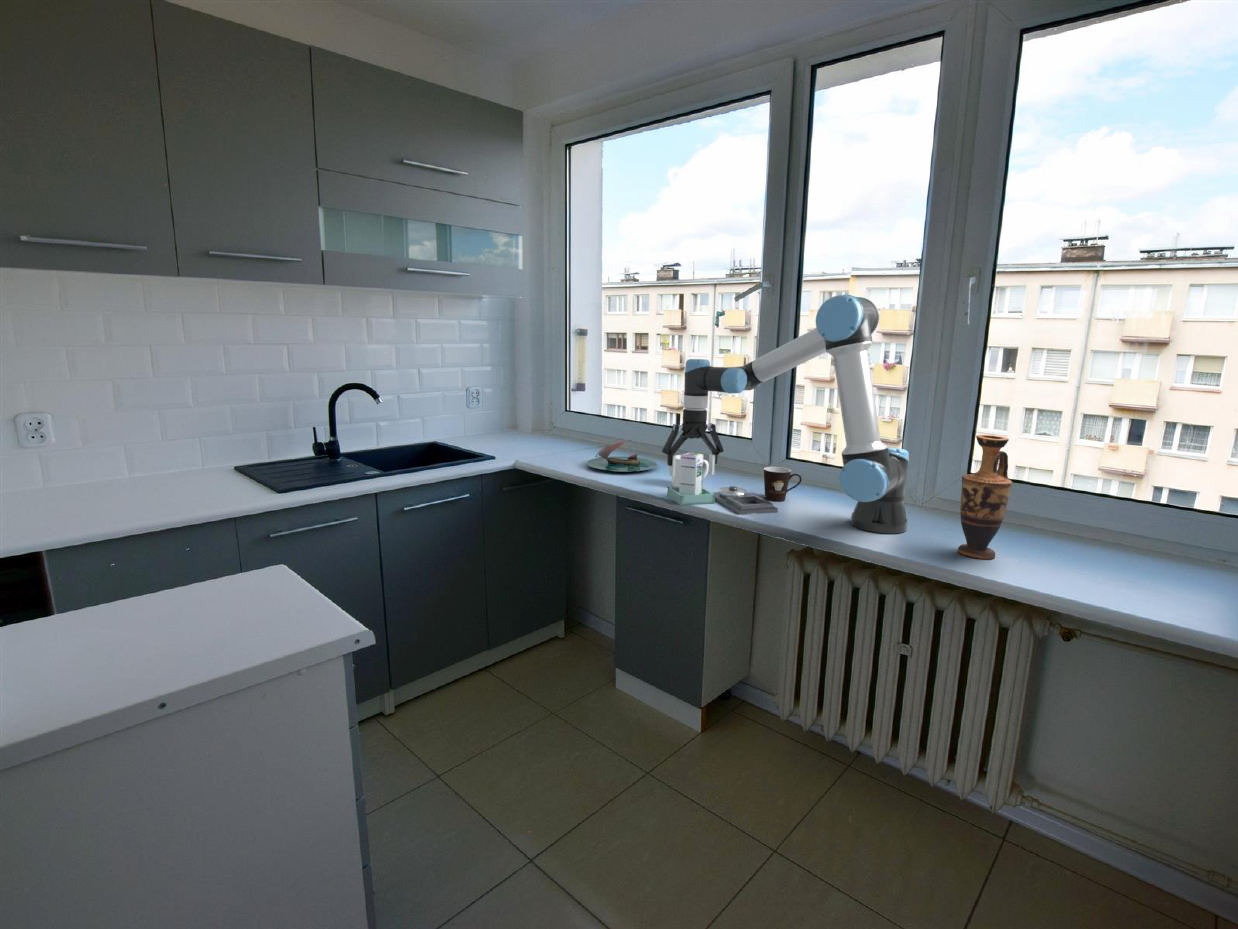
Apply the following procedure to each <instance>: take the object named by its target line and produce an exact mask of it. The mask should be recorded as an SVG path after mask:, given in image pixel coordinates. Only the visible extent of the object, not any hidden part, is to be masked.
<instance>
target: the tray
mask: <svg viewBox="0 0 1238 929" xmlns="http://www.w3.org/2000/svg"><path fill="white" fill-rule="evenodd" d="M666 493H667V494H666V496H667V497H668V498H670V500H673V502H675V503H677V504H678V505H680V506H693V505H694V506H695V505H696V506H697V505H712V504H716V503H715V502H716V501H715V494H714V493H713V492H712V491H710V490H709V489H707V488H704V487H703V486H702V494H698V495H681V494H680V493H679V487H673V486H672V487H671V486H667V492H666Z"/></svg>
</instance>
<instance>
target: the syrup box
mask: <svg viewBox="0 0 1238 929" xmlns="http://www.w3.org/2000/svg"><path fill="white" fill-rule="evenodd" d="M679 455H680V486H679V493H680V494H681V495H698V494H702V487H703V480H704V479H703V476H704V473H703V472H704V462H703V460H704V453H699V452H686V453H683V454H679ZM702 479H703V480H702Z"/></svg>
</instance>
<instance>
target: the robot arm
mask: <svg viewBox="0 0 1238 929" xmlns="http://www.w3.org/2000/svg"><path fill="white" fill-rule="evenodd" d="M879 320H880V315H879V311H878V308H877V306H876V305H875V303H874V302H872V301H871V300H870V299H868V298H865V297H860V296H854V295H851V294H838V295H834V296H832V297H830V298H828V299H827V300H825V301H824V302H823V303H822V304H821V305H820V307H819V308H818V311H817V312H816V316H815V328H813V329H811V330H810V331H808V332H806V333H804V334H802V335H800V336H798V337H796V338H794V339H791V340H790V341H788V342H786V343H785V344H783V345H780V346H779V347H777V348H775V349H773V350H771V351H769V352H767V353H765V354H763V355H761V356H759V357H758V358H756V359H754V360H752V361H750V362H748V363H746V364H744V365H742V366H741V365H740V366H730V367H729V366H725V367H723V366H711V361H710V360H709V359H704V358H688V359H687V360H686V362H685V369H684V373H683V374H684V387H683V388H684V390H683V391H684V392H683V408H684V409H683V410H682V424H677V423H673V424H672V428H671V429H672V430H671V432H670V434H669V436H668V438H667V439H666V441H665V444H664V445H663V448H662V450H661V452H662V454H665V455H667V460H666V461H667V466H669V476H671V478H672V477H675V460H676V455H675V454H676V453H677V451H679V449H680V448H681V446H682V445H683V444H684V443H685V441H687V440H688V439H692V440H693V439H701V440H702V441H703V443H704V444H705V445H706V446H707V448H708V449H709V451H710V452H711V453H709V455H708V456H709V457H708V464H709V469H708V473H707V474H710V475H711V476H714V475H715V467H716V466H715V465H717V464H718V456H719V455H720V453H723V452H724V448H723V445H722V442H721V440H720V438H719V436H718V432H717V430H716V424H714V423H712V422H710V423H708V424H707V420H708V410H707V409H708V404H709V403H708V400H709V392H717V393H725V394H741V393H742V392H743V391H751V390H756V389H757V388H759V387H760V386H761V384H763V383H765V382H767V381H770V380H771V379H773V378H776V377H777V376H779V375H781V374H784V373H785V372H787V371H791V370H792V369H794V368H796V367H798V366H800V365H802V364H804V363H806V362H809V361H810V360H812V359H815V358H817V357H820V356H821V355H823V354H824V353H827V354H829V355H830V356H831V357H832V358H833V366H834V372H835V379H836V386H837V393H838V398H839V404H840V411H841V417H842V418H841V419H842V425H843V431H844V438H845V443H846V444H845V445H846V446H845V448H844V449H843V450H842V451H841V459H842V464H843V467H842V468H841V470H840V473H839V485H840V487H841V489H842V491H843V493H844V494H846V496H848V497H849V498H851V499H852V500H854V501H857V502H856V504H855V507H854V509H853V511H852V513H851V514H850V524H851V525H852V526H853V527H855V528H857V529H860V530H862V531H863V530H864V531H868V532H873V533H877V534H878V533H879V534H887V535H888V534H902V533H905V532H907V530H908V519H907V513H906V509H905V508H906V507H905V504H904V501H905V492H906V491H905V490H906V484H907V476H908V467H909V463H910V458H909V457H910V454H909V451H908V450H907V449H905V448H904V449H903V448H897V447H890V446H888V445H887V444H885V443H884V442H883V441H882V440H881V433H880V426H879V421H878V412H877V407H876V400H875V392H874V386H873V385H874V384H873V381H872V372H871V366H870V360H869V353H868V350H869V348H870V347H871V346H872V344H873V337H872V335H873V333H874V332H875V331H876V329H877V327H878V325H879V322H880V321H879ZM707 430H708V431H709V434H710V436H711V439H712V441H713V443H712V441H711V440H710V439H709V437H708V435H707V434H706V433H705V432H706V431H707ZM680 431H682V433H681V434H680V435H679V432H680ZM678 435H679V437H678V439H677V436H678ZM676 439H677V440H676Z"/></svg>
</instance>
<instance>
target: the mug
mask: <svg viewBox="0 0 1238 929" xmlns="http://www.w3.org/2000/svg"><path fill="white" fill-rule="evenodd" d="M680 455H681V454H677V455H675V456H676V460H675V477H672V476H671V486H672V487H679V486H680ZM703 464H705V470H704V473H703V479H702V481H703V480H704V479H705V478H707V475H708V474H709V473H708V471H709V460H706V459H703Z"/></svg>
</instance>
